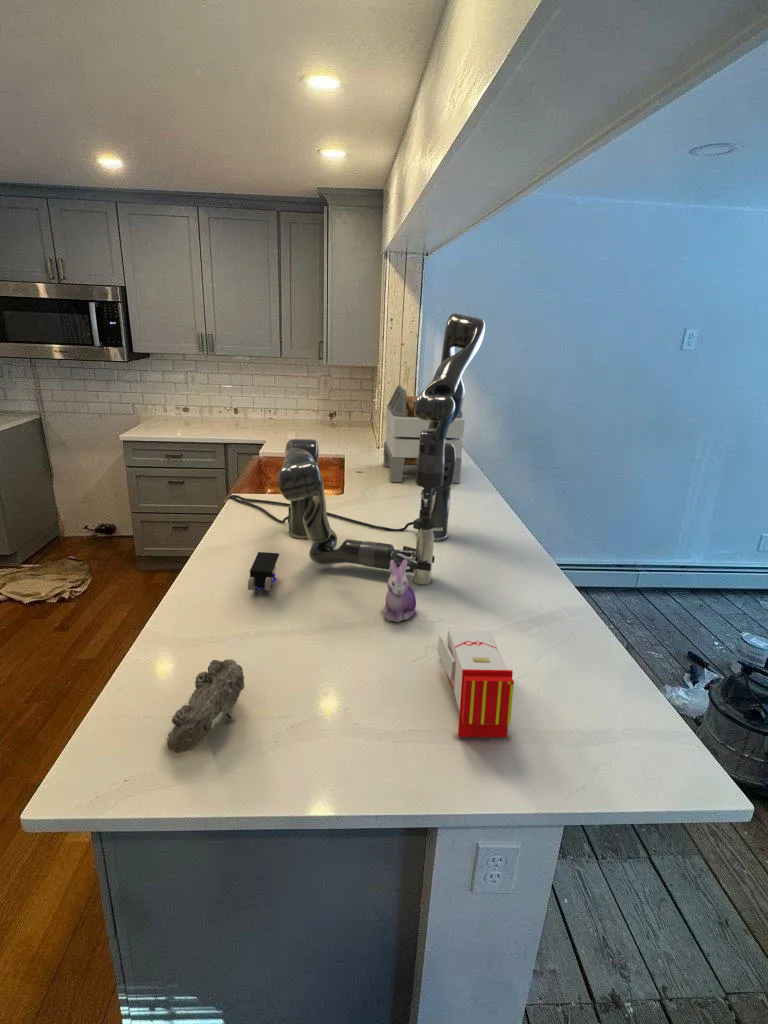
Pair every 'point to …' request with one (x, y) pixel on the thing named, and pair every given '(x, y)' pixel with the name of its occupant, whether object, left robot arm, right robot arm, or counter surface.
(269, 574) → the black toy truck
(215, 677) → the fossil
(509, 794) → the counter surface
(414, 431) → the grey wooden crate
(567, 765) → the counter surface
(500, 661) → the toy
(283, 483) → the left robot arm
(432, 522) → the cap
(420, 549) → the bottle
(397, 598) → the figurine
